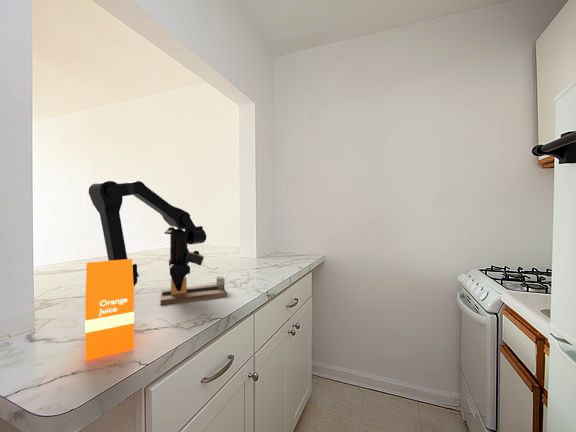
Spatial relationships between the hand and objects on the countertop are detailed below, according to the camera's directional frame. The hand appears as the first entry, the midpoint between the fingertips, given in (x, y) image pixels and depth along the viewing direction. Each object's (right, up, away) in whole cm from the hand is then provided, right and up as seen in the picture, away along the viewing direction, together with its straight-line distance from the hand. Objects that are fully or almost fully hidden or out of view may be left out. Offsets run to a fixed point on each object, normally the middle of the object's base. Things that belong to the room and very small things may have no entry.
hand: (178, 288), depth 95 cm
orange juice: (-1, -4, -35) cm, 35 cm away
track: (+5, -3, +2) cm, 6 cm away
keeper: (0, -1, 0) cm, 1 cm away
